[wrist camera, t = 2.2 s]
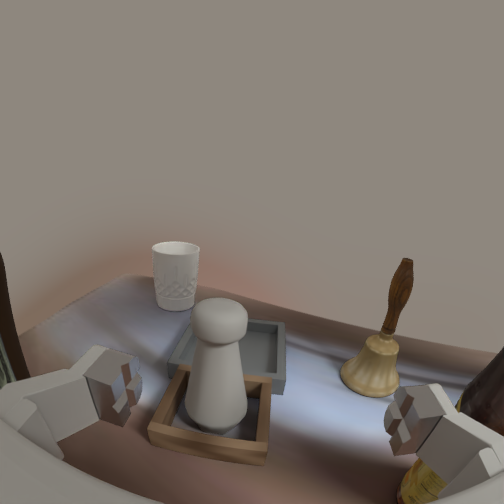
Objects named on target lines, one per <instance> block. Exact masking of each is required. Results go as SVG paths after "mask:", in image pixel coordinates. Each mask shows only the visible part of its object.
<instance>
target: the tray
mask: <svg viewBox="0 0 504 504" xmlns="http://www.w3.org/2000/svg"><path fill="white" fill-rule="evenodd" d="M196 343H197V337H196V336H195V335H194V333H193V330H192V328H191V323H190V324H189V326H188V327H187V329H186V331H185V333H184V334H183V336H182V338H181V339H180V341H179V343H178V345H177V346H176V348H175V350H174V351H173V353H172V355H171V357H170V358H169V360H168V362H167V365H168V375H169V378H173V376H174V374H175V372H176V370H177V368H178V366H179V364H185V365H190V366H192V362H193V357H194V352H195V348H196ZM238 345H239V352H240V359H241V365H242V372H243V374H247V375H255V376H264V377H272V390H271V394H278V395H283V391H284V387H285V382H286V347H285V322H276V321H267V320H258V319H249V318H248V323H247V330H246V334H245V336H244V337H243V338H242V339H240V340H239V341H238Z"/></svg>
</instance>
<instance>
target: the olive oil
mask: <svg viewBox="0 0 504 504" xmlns="http://www.w3.org/2000/svg"><path fill="white" fill-rule="evenodd" d="M28 378H31V377H30V374H29V371H28V369H27V366H26V363H25V360H24V356H23V353H22V350H21V346H20V343H19V339H18V335H17V332H16V328H15V323H14V319H13V314H12V310H11V304H10V299H9V293H8V287H7V279H6V272H5V266H4V262H3V259H2V255H1V253H0V390H1V389H2V388H3V387H4V386H5V385H6V384H8V383H12V382H16V381H20V380H24V379H28Z"/></svg>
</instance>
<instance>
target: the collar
mask: <svg viewBox="0 0 504 504" xmlns="http://www.w3.org/2000/svg"><path fill="white" fill-rule="evenodd" d="M191 367H192V366H190V365H185V364H179V366H178V368H177V370H176V372H175V374H174V376H173V378H172V380H171V382H170V384H169V386H168V388H167V390H166V392H165V394H164V396H163V398H162V400H161V402H160V404H159V406H158V408H157V410H156V412H155V414H154V416H153V418H152V420H151V422H150V424H149V426H148V428H147V432H148V435H149V439H150V442H151V445H154V446H158V447H161V448H165V449H169V450H173V451H177V452H181V453H185V454H189V455H194V456H199V457H204V458H209V459H215V460H220V461H227V462H234V463H241V464H249V465H259V466H264V463H265V459H266V455H267V451H268V437H269V422H270V406H271V390H272V377H264V376H255V375H247V374H243V378H244V385H245V391H246V397H250V398H258V399H260V400H259V409H258V418H257V427H256V436H255V441H247V440H239V439H232V438H225V437H219V436H213V435H208V434H202V433H197V432H193V431H188V430H184V429H179V428H175V427H171V424H172V422H173V419H174V417H175V415H176V412H177V410H178V407H179V405H180V403H181V400H182V398H183V396H184V393H185V391H186V389H187V387H188V382H189V377H190V372H191Z"/></svg>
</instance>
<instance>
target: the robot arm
mask: <svg viewBox="0 0 504 504" xmlns="http://www.w3.org/2000/svg"><path fill="white" fill-rule="evenodd" d="M139 368H140V364H139V359H138V358H137V357H135V356H132V355H129V354H126V353H122V352H119V351H116V350H113V349H109V348H106V347H103V346H101V345H98V344H97V345H93V346H92V347H91V348H90V349H89V350H88V351H87V352H86V353H85V354H84V355H83V356H82V357H81V358H80V359H79V360H78V361H77V362H76V363H75V364H74V365H73V366H72V367H71V368H70V369H69V370H67V369H61V370H58V371H54V372H51V373H47V374H43V375H40V376H36V377H32V378H28V379H24V380H20V381H16V382H12V383H8V384H6V385H5V386H4V387H3V388H2V389H1V390H0V504H165V503H162V502H158V501H155V500H152V499H149V498H146V497H143V496H140V495H137V494H134V493H131V492H129V491H126V490H123V489H121V488H118V487H116V486H113V485H111V484H109V483H106V482H104V481H102V480H100V479H97V478H95V477H93V476H91V475H89V474H87V473H85V472H83V471H81V470H79V469H77V468H75V467H73V466H71V465H69V464H68V463H66V462H64V461H62V460H63V458H64V454H63V452H62V450H61V449H60V447H59V446H58V444H57V442H58V441H60V440H62V439H64V438H66V437H68V436H70V435H72V434H74V433H76V432H78V431H80V430H82V429H84V428H86V427H88V426H90V425H91V424H93V423H95V422H97V421H99V419H101V420H104V421H106V422H109V423H112V424H115V425H118V426H121V427H123V426H124V424H125V423H126V421H127V419H128V418H129V416H130V414H131V411H130V407H132V406H134V405H136V404H137V403H138V401H139V399H140V396H141V393H142V378H141V377H140V375H139V374H138V373H137V371H138V370H139ZM394 399H395V401H394V402H393V403H391V404H390V405H389V406H388V408H387V410H386V412H385V416H384V427H385V430H386V432H387V433H388V434H390V435H391V436H392V437H391V439H390V441H389V442H390V445H391V448H392V451H393V454H394V456H399V455H407V454H414V453H416V455H417V456H418V457H419V458H420V459H421V460H422V461H423V462H424V463H425V464H426V465H427V466H428V467H430V468H431V469H432V470H433V471H434V472H435V473H436V474H437V475H438V476H439V477H440V478H441V479H442V480H444V481H445V482H446V483H447V484H448V485H447V486H446V487H445V488H444V489H442V490H441V491H440V492H439V494H438V495H437V496H438V499H439V500H436V501H432V502H429V503H426V504H504V437H503V436H502V435H500V434H498V433H496V432H495V431H493V430H491V429H489V428H487V427H486V426H484V425H482V424H481V423H479V422H477V421H475V420H474V419H472V418H470V417H468V416H467V415H465V414H463V413H462V412H460V413H458V412H457V410H456V409H455V407H454V406H453V404H452V402H451V401H450V399H449V398H448V396H447V394H446V393H445V391H444V390H443V388H442V387H441V385H439V384H437V383H435V384H426V385H418V386H403V387H399V388H398V389H397V390H396V392H395V394H394Z"/></svg>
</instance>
